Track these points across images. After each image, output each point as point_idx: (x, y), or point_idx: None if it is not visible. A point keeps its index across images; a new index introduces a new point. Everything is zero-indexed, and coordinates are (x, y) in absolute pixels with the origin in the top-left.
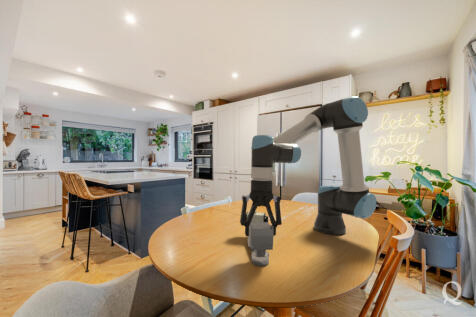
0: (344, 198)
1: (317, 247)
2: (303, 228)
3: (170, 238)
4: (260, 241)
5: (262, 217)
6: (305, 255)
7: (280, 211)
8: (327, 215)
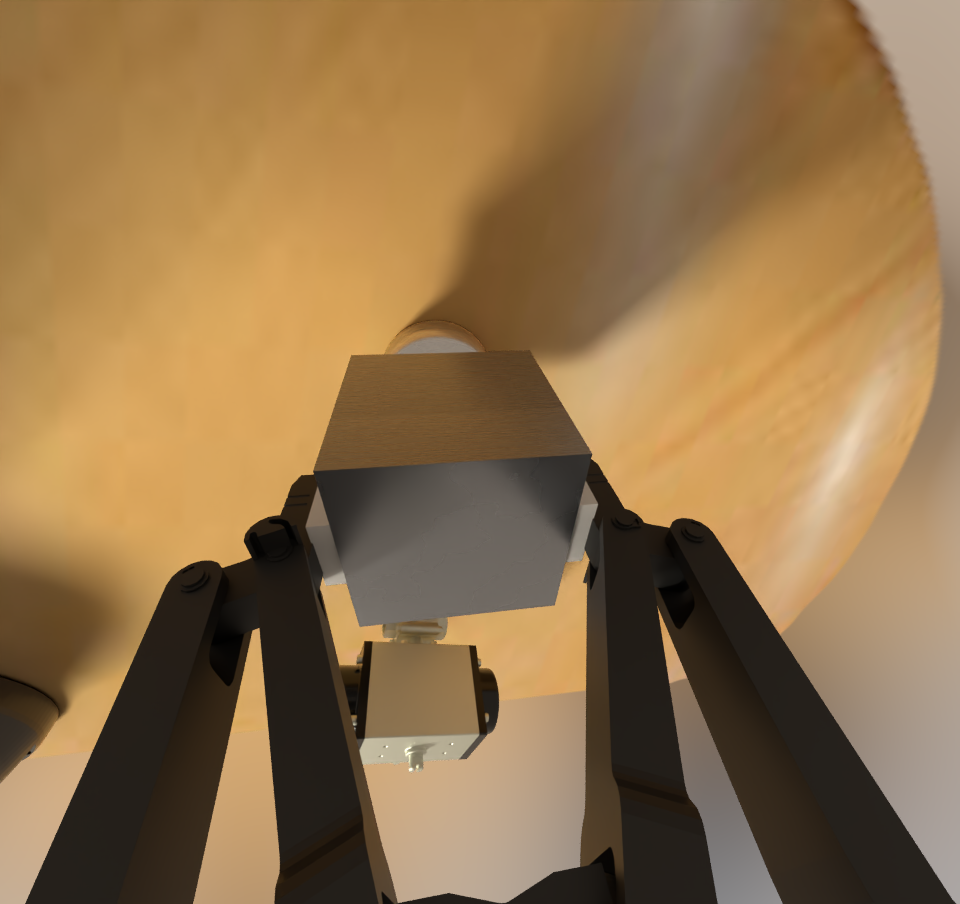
0: None
1: (21, 532)
2: None
3: (787, 569)
4: (470, 385)
5: (373, 721)
6: (111, 442)
7: (71, 802)
8: None
